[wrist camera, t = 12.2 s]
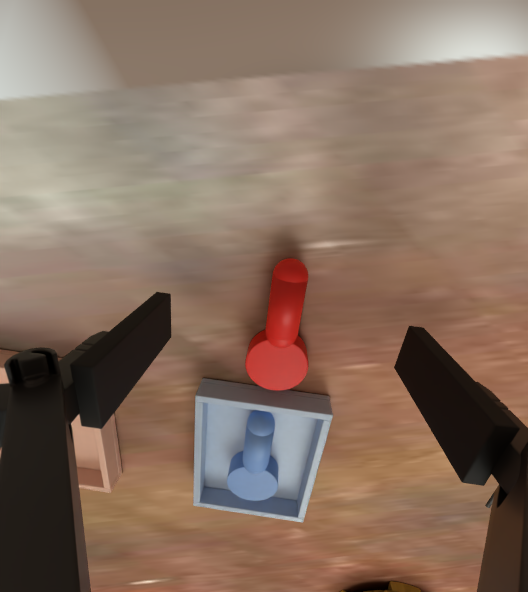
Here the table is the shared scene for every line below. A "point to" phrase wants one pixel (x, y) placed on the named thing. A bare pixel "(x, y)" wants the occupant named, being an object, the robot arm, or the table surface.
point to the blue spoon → (255, 461)
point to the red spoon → (281, 332)
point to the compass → (397, 588)
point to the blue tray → (285, 446)
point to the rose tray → (88, 447)
